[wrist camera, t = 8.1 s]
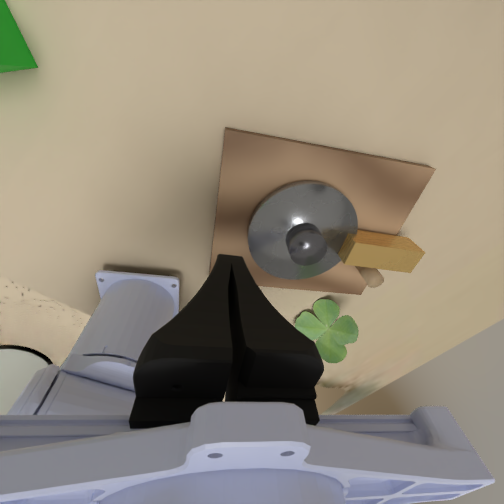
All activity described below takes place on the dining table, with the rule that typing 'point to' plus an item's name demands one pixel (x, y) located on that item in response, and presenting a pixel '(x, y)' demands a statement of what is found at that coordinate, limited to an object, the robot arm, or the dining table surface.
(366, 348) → the dining table surface
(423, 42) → the dining table surface
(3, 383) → the water bottle
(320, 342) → the seedling
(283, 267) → the pan with wooden handle
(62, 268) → the dining table surface
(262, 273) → the board
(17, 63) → the mechanical part
